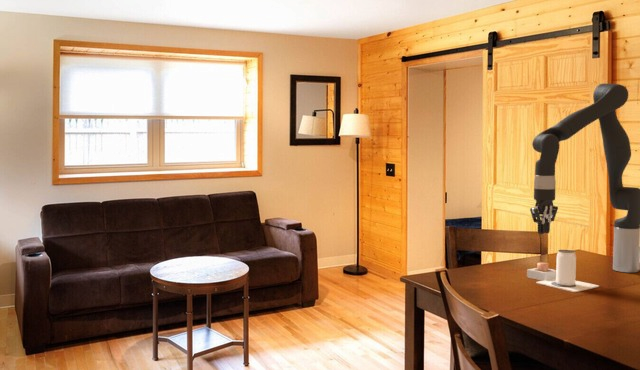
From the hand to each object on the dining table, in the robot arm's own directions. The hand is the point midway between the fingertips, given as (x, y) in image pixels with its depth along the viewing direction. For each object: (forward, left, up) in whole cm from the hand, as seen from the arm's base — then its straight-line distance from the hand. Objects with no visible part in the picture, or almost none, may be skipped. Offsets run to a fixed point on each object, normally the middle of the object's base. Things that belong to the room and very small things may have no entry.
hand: (543, 233), depth 231 cm
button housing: (0, 0, -17) cm, 17 cm away
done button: (0, 0, -16) cm, 16 cm away
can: (+3, +12, -17) cm, 21 cm away
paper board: (+2, +12, -17) cm, 21 cm away
